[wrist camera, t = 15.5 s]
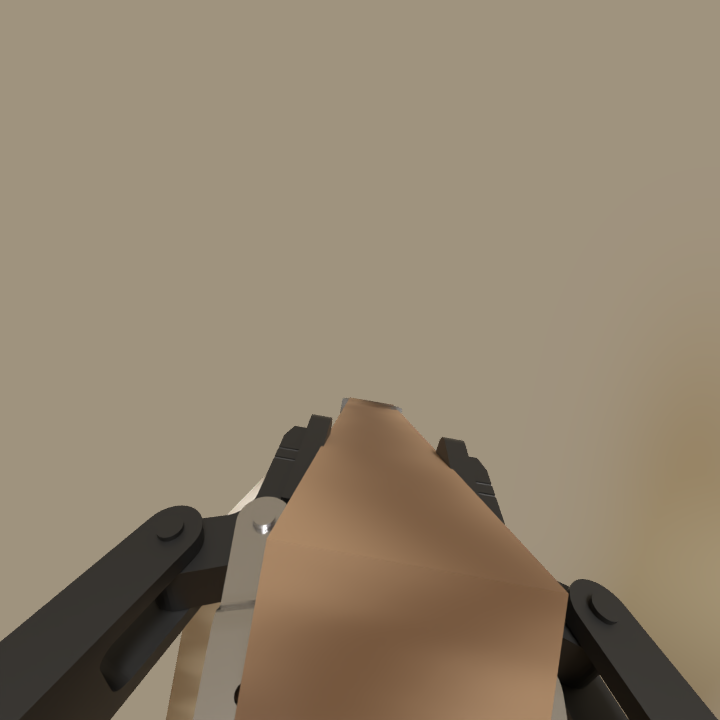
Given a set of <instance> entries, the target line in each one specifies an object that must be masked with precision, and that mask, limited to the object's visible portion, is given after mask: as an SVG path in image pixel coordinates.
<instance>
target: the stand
mask: <svg viewBox="0 0 720 720" xmlns="http://www.w3.org/2000/svg"><path fill="white" fill-rule="evenodd" d="M265 477H266V475H265V476H264V477H263V478H262V479H261V480H260V481H259V482H258V483H257V484H256V485H255V486H254V488H252V489H251V491H250V492H249V493H248V494H247V495H246V496H245V497H244V498H243V499H242V500H241V501H240V502H239V503H238V504H237V505H236V506H235V507H234V508H233V509H232V510H231V511H230V512H229V513H228V514H227V515H230V514H233V513H236V512H238V511H241V510H242V508H243V507H244V506H245V505H246V504H248V503H249V502H251V501H252V500H254V499H255V498H256V496H257V494H258V492H259V490H260V487H261V485H262V483H263V481H264V479H265ZM220 603H221V602H219V603H214V604H209V605H204V606H202V607H201V608H200V609H199V610H198V611H197V613H196V614H195V615H194V616H193V618H192V619H191V620H190V621H189V623H188V624H187V625H186V626H185V628H184V629H183V630H182V635H181V641H180V646H179V652H178V657H177V662H176V668H175V673H174V679H173V685H172V690H171V695H170V700H169V706H168V712H167V717H166V720H193V717H194V712H195V707H196V702H197V697H198V692H199V687H200V682H201V677H202V671H203V666H204V661H205V656H206V651H207V646H208V641H209V636H210V631H211V626H212V622H213V618H214V615H215V612H216V610H217V609H218V608H219V606H220Z"/></svg>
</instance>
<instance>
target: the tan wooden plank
mask: <svg viewBox="0 0 720 720" xmlns="http://www.w3.org/2000/svg"><path fill="white" fill-rule="evenodd" d="M401 412H402V409H401V408H399V407H395V406H393V405H391V404H384V403H379V402H373V401H367V400H361V399H355V398H344V399H343V400H342V405H341V411H340V415H339V417H338V419H337V420H336V422H335V424H334V425H333V427H332V429H331V434H330V436H329V438H328V439H327V441H326V443H325V445H324V447H323V446H321V447H320V449H319V451H318V452H317V454H316V456H315V458H314V459H313V461H312V463H311V464H310V466H309V468H308V469H307V471H306V473H305V475H304V476H303V478H302V480H301V481H300V483H299V485H298V486H297V488H296V490H295V492H294V493H293V495H292V497H291V498H290V500H289V502H288V503H287V505H286V507H285V509H284V510H283V512H282V514H281V515H280V517H279V519H278V520H277V522H276V524H275V526H274V527H273V529H272V531H271V532H270V534H269V536H268V537H267V540H266V546H265V551H264V557H263V562H262V568H261V574H260V579H259V585H258V590H257V596H256V602H255V607H254V613H253V618H252V624H251V630H250V635H249V641H248V646H247V652H246V658H245V663H244V669H243V675H242V680H241V686H240V691H239V697H238V703H237V708H236V714H235V719H234V720H551V716H552V709H553V702H554V695H555V688H556V681H557V673H558V666H559V659H560V652H561V645H562V638H563V631H564V623H565V616H566V609H567V602H568V595H569V594H568V592H567V591H566V590H565V589H564V588H563V587H562V586H561V585H560V584H559V583H558V582H557V581H556V580H555V578H554V577H553V576H552V575H551V574H550V573H549V572H548V571H547V570H546V569H545V568H544V567H543V566H542V564H540V562H539V561H538V560H537V559H536V558H535V557H534V556H533V555H532V554H531V553H530V552H529V551H528V549H527V548H526V547H525V546H524V545H523V544H522V543H521V542H520V541H519V540H518V539H517V538H516V537H515V536H514V534H513V533H512V532H511V531H510V530H509V529H508V528H507V527H506V526H505V525H504V524H503V523H502V521H501V520H500V519H499V518H498V517H497V516H496V515H495V514H494V513H493V512H492V511H491V510H490V509H489V507H488V506H487V505H486V504H485V503H484V502H483V501H482V500H481V499H480V498H479V497H478V496H477V495H476V494H475V492H474V491H473V490H472V489H471V488H470V487H469V486H468V485H467V484H466V483H465V482H464V481H463V480H462V478H461V477H460V476H459V475H458V474H457V473H456V472H455V471H454V470H453V469H450V468H449V467H448V465H447V464H446V463H445V462H444V461H443V460H442V459H441V458H440V457H439V456H438V454H437V453H436V451H435V449H434V448H433V447H432V446H431V445H430V444H429V443H428V442H427V441H426V440H425V439H424V438H423V437H422V435H421V434H420V433H419V432H418V431H417V430H416V429H415V428H414V427H413V426H412V425H411V424H410V423H409V422H408V420H407V419H406V418H405V417H404V416H403V415H402V414H401Z"/></svg>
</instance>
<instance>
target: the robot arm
mask: <svg viewBox="0 0 720 720" xmlns="http://www.w3.org/2000/svg"><path fill="white" fill-rule="evenodd" d="M331 426H332V418H331V417H325V416H319V415H313V414H312V416H311V419H310V421H309V424H308V426H307V428H303V427H298V426H294V427H293V428H292V429H291V430H290V431H289V432H287V433H286V434H285V435H284V437H283V439H282V442H281V444H280V446H279V449H278V450H277V453H276V455H275V458H274V459H273V461H272V463H271V466H270V468H269V470H268V472H267V474H266V477H265V479H264V481H263V483H262V485H261V487H260V490H259V492H258V494H257V496H256V498H255V499H254V500H252V501H251V502H249V503H248V504H246V505H245V506H244V507H243V508H242V510H241V511H238V512H236V513H233V514H230V515H225V516H218V517H210V518H202V517H201V515H200V513H199V512H198V511H197V510H196V509H194V508H192V507H189V506H174V507H170V508H167V509H164V510H162V511H160V512H158V513H157V514H155V515H154V516H152V517H151V518H150V519H149V520H147V521H146V522H145V523H144V524H142V525H141V526H140V527H139V528H138V529H136V530H135V531H134V532H133V533H132V534H130V535H129V536H128V537H127V538H125V539H124V540H123V541H122V542H121V543H120V544H118V545H117V546H116V547H115V548H113V549H112V550H111V551H110V552H108V553H107V554H106V555H105V556H104V557H102V558H101V559H100V560H99V561H98V562H96V563H95V564H94V565H93V566H92V567H90V568H89V569H88V570H87V571H86V572H84V573H83V574H82V575H81V576H79V578H77V579H76V580H75V581H73V582H72V583H71V584H70V585H69V586H67V587H66V588H65V589H64V590H62V591H61V592H60V593H59V594H58V595H56V596H55V597H54V598H53V599H52V600H50V602H48V603H47V604H46V605H44V606H43V607H42V608H41V609H39V610H38V611H37V612H36V613H35V614H33V615H32V616H31V617H30V618H29V619H27V620H26V621H25V622H24V623H23V624H21V625H20V626H19V627H18V628H17V629H15V630H14V631H13V632H12V633H11V634H9V635H8V636H7V637H6V638H4V639H3V640H2V641H1V642H0V720H110V719H111V718H112V717H113V716H114V714H115V713H116V712H117V711H118V709H119V708H120V707H121V706H122V704H123V703H124V702H125V700H127V698H128V697H129V696H130V695H131V693H132V692H133V691H134V689H135V688H136V687H137V686H138V685H139V683H140V682H141V681H142V680H143V678H144V677H145V676H146V675H147V673H148V672H149V671H150V669H151V668H152V667H153V666H154V665H155V664H156V662H157V661H158V660H159V659H160V657H161V656H162V655H163V654H164V652H165V651H166V650H167V648H168V647H169V646H170V645H171V643H172V642H173V641H174V640H175V639H176V637H177V636H178V635H179V634H180V633H181V631H182V630H183V629H184V628H185V626H186V625H187V624H188V623H189V621H190V620H191V619H192V618H193V616H194V615H195V614H196V613H197V611H198V610H199V609H200V608H201V607H202V606H204V605H209V604H214V603H219V602H221V603H220V606H219V608H218V609H217V610H216V612H215V615H214V618H213V622H212V626H211V631H210V636H209V641H208V646H207V651H206V656H205V661H204V666H203V671H202V677H201V682H200V687H199V692H198V697H197V702H196V707H195V712H194V717H193V720H234V719H235V714H236V708H237V703H238V697H239V691H240V686H241V680H242V675H243V669H244V663H245V658H246V652H247V646H248V641H249V635H250V630H251V624H252V618H253V613H254V607H255V602H256V596H257V590H258V585H259V579H260V574H261V568H262V562H263V557H264V551H265V546H266V540H267V537H268V536H269V534H270V532H271V531H272V529H273V527H274V526H275V524H276V522H277V520H278V519H279V517H280V515H281V514H282V512H283V510H284V509H285V507H286V505H287V503H288V502H289V500H290V498H291V497H292V495H293V493H294V492H295V490H296V488H297V486H298V485H299V483H300V481H301V480H302V478H303V476H304V475H305V473H306V471H307V469H308V468H309V466H310V464H311V463H312V461H313V459H314V458H315V456H316V454H317V452H318V451H319V449H320V447H321V446H323V447H324V445H325V443H326V441H327V439H328V438H329V436H330V434H331ZM436 453H437V454H438V456H439V457H440V458H441V459H442V460H443V461H444V462H445V463H446V464H447V465H448V467H449V468H450V469H453V470H454V471H455V472H456V473H457V474H458V475H459V476H460V477H461V478H462V480H463V481H464V482H465V483H466V484H467V485H468V486H469V487H470V488H471V489H472V490H473V491H474V492H475V494H476V495H477V496H478V497H479V498H480V499H481V500H482V501H483V502H484V503H485V504H486V505H487V506H488V507H489V509H490V510H491V511H492V512H493V513H494V514H495V515H496V516H497V517H498V518H499V519H500V520H501V521H502V523H503V524H504V525H505V523H504V520H503V517H502V514H501V511H500V509H499V505H498V502H497V500H496V498H495V494H494V490H493V488H492V486H491V482H490V479H489V476H488V473H487V470H486V469H485V468H484V466H483V465H482V464H481V463H480V461H479V460H478V459H477V458H473V457H469V456H468V453H467V449H466V446H465V443H464V441H461V440H456V439H450V438H444V437H442V438H441V439H440V441H439V444H438V447H437V450H436ZM557 582H558V581H557ZM558 583H559V584H560V585H561V586H562V587H563V588H564V589H565V590H566V591H567V592H568V594H569V595H568V602H567V609H566V616H565V623H564V631H563V638H562V645H561V652H560V659H559V666H558V673H557V681H556V688H555V695H554V702H553V709H552V716H551V720H628V719H627V717H628V718H629V720H718V719H717V718H716V717H715V716H714V714H713V713H712V712H711V711H710V710H709V708H708V707H707V706H706V705H705V703H704V702H703V701H702V700H701V698H700V697H699V696H698V695H697V694H696V692H695V691H694V690H693V689H692V687H691V686H690V685H689V684H688V683H687V681H686V680H685V679H684V678H683V677H682V676H681V674H680V673H679V672H678V670H677V669H676V668H675V667H674V666H673V664H672V663H671V662H670V661H669V659H668V658H667V657H666V656H665V655H664V653H663V652H662V651H661V650H660V649H659V647H658V646H657V645H656V643H655V642H654V641H653V640H652V639H651V637H650V636H649V635H648V634H647V633H646V631H645V630H644V629H643V628H642V627H641V625H640V624H639V623H638V621H637V620H636V619H635V618H634V617H633V615H632V614H631V613H630V612H629V610H628V609H627V608H626V607H625V606H624V604H623V603H622V602H621V601H620V600H619V599H618V598H617V597H616V596H615V595H614V594H613V593H611V592H610V591H609V590H608V589H606V588H605V587H603V586H601V585H600V584H598V583H596V582H593V581H590V580H585V579H580V580H576V581H574V582H573V583H572V584H571V585H570V587H568V586H566V585H564V584H562V583H560V582H558ZM599 675H601V677H602V678H603V680H604V682H605V683H606V684H607V686H608V688H609V689H610V691H611V692H612V694H613V695H614V697H615V698H616V700H617V701H618V703H619V704H620V706H621V708H622V709H623V710H624V712H625V714H626V715H627V717H626V716H625V714H624V713H623V711H622V710H621V708H620V707H619V705H618V703H617V702H616V701H615V699H614V697H613V696H612V694H611V693H610V691H609V690H608V688H607V687H606V685H605V684H604V682H603V681H602V679H601V677H600V676H599Z"/></svg>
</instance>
